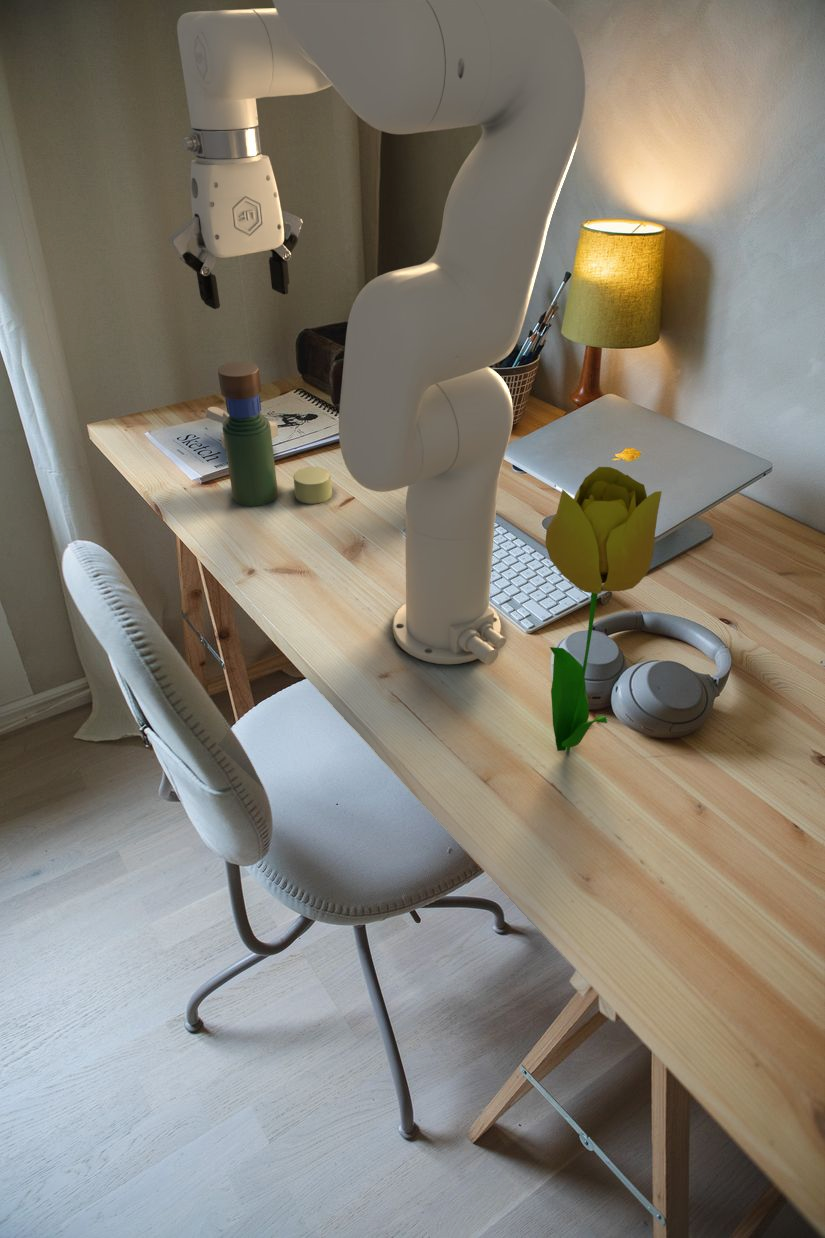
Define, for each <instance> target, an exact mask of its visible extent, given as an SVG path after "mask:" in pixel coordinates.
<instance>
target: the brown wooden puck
mask: <svg viewBox="0 0 825 1238" xmlns="http://www.w3.org/2000/svg"><path fill="white" fill-rule="evenodd" d="M217 375H218V382H219V388H220V394H221V395H222V397H224V398H225V397H226V398H229V399H236V400H240V399H248V398H252V397H255V396H257V395H258V394H259V395H260V394H261V393H262V384H261V376H260V367H259V366H258V365H257V364H256V363H254V362H251V361H232V362H228V363H225V364H222V365H221V366H219V368H218V369H217Z"/></svg>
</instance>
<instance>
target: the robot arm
mask: <svg viewBox="0 0 825 1238" xmlns="http://www.w3.org/2000/svg"><path fill="white" fill-rule="evenodd" d="M271 1H272V4H273V6H274V7H272V8H267V7H265V8H248V9H219V10H201V11H189V12H185V13H184V14H181V15H180V17H178V20H177V24H176V32H177V41H178V47H179V48H178V49H179V54H180V62H181V68H182V75H183V81H184V88H185V94H186V101H187V107H188V113H189V114H188V115H189V122H190V127H191V128H190V129H189V133H190V135H188V137H187V136H186V137H183V138H182V139H181V145H182V148H183V150H184V152H191V153H193V155H194V156H195V159H192V160H191V161H190V162H191V163H190V205H191V206H190V207H191V217H192V218H191V219H190V220H189V221H187V222H186V223H185V224H183V226H182V227H180V228H179V229H178V230H176V232H174V233H173V234H172V235H171V236H170V237H169V238H168V239H169V243H170V245H171V247H172V248H173V250H174V251H175V252H176V255H178V256H179V259H180V260H181V261H182V262H183V263H184V264H186V265H187V266H188V267H189V268H191V269H192V270H193V271H194V272H196V277H197V283H198V291H199V296H200V299H201V300H202V301H203V303H204V304H205V305H206V306H208V307H210V308H211V309H213V310H218V309H219V308H220V307H221V303H220V297H219V289H218V281H217V277H216V275H215V274H213V273H212V270H213V268H214V267H215V265H216V263H217V260H218V259H219V258H223V259H224V258H232V257H238V256H244V255H249V254H255V253H260V252H266V251H269V252H270V254H271V256H269V259H268V264H269V273H270V275H269V276H270V282H271V289H272V290H273V291H275V292H277V293H280V294H282V295H288V294H289V284H290V275H289V274H290V273H289V265H288V261H289V260H290V259H291V258H292V254H291V253H292V252H293V250H294V249H295V247H296V246H297V245H298V241H299V238H298V237H299V235H300V232H301V229H302V226H303V219H302V218H301V217H299V216H297V215H295V214H292V213H290V212H288V211H287V210H284V209H282V207H281V202H280V200H281V199H280V195H279V190H278V187H277V182H276V178H275V175H274V171H273V166H272V163H271V160H270V157H269V156H268V155H265V154H263V153H262V145H261V135H260V126H259V118H258V108H257V99H262V98H272V97H274V98H275V97H284V96H285V97H286V96H299V95H308V94H314V93H317V92H321V91H323V90H325V89H328V88H330V87H333V89H334V90H335V91H336V92H337V93H338V94H339V96H340V97H341V98H342V99H343V100H344V102H345V103H346V105H348V107H349V108H350V109H351V110H352V111H353V112H354V113H355V115H357V116H358V117H359V119H361V120H362V121H364V122H365V123H366V124H367V125H368V126H370V127H372V128H373V129H376V130H377V131H381V132H383V133H388V134H392V135H411V134H418V133H427V132H435V131H445V130H452V129H460V128H467V127H473V126H480V127H481V131H482V132H481V136H480V138H479V140H478V141H477V143H476V144H475V146H474V147H473V149H472V150H471V151H470V153H469V154H468V156H467V157H466V159H465V160H464V161H463V163H462V165H461V166H460V168H459V170H458V172H457V174H456V176H455V178H454V180H453V182H452V184H451V187H450V189H449V191H448V195H447V197H446V200H445V202H444V203H445V204H444V209H443V214H442V216H443V217H442V222H441V229H440V232H439V233H440V234H439V238H438V242H437V246H436V248H435V252H434V253H433V255H432V256H431V257H430V258H429V259H428V260H426V261H425V262H423V263H421V264H416V265H413V266H408V267H404V268H400V269H395V270H392V271H388V272H385V273H383V274H381V275H378V276H376V277H375V278H372V279H371V280H369V282H368V283H366V284H365V285H364V286H363V288H362V289H361V290H360V291H359V292H358V294H357V296H356V298H355V300H354V302H353V303H352V306H351V309H350V312H349V316H348V320H347V327H346V332H345V333H346V334H345V343H344V353H343V354H344V355H343V367H342V377H341V378H342V379H341V386H340V387H341V388H340V399H339V412H338V440H339V448H340V452H341V456H342V459H343V462H344V464H345V467H346V468H347V471H348V472H349V474H350V475H351V477H352V478H353V479H354V480H355V481H356V483H358V484H359V485H360V486H361V487H363V488H365V489H367V490H370V491H373V492H378V493H379V492H380V493H381V492H382V493H384V492H393V491H396V490H400V489H403V488H407V490H406V496H405V515H404V517H405V519H404V520H405V521H404V522H405V529H404V530H405V603H404V604H402V605H401V606H400V607H399V608H398V610H396V612H395V614H394V616H393V620H392V633H393V637H394V639H395V641H396V643H397V644H398V646H399V647H400V648H401V649H402V650H403V651H405V652H406V653H407V654H409V655H410V656H412V657H415V658H416V659H419V660H421V661H424V662H426V663H427V662H428V663H432V664H438V665H458V664H463V663H464V664H465V663H469V662H472V661H475V660H480V662H481V663H483V664H484V665H486V666H490V665H492V664H493V663H494V662H495V661H496V659H497V658H498V655H499V653H498V650H497V649H501V648H503V647H504V646H505V645H506V642H507V639H506V638H505V637H504V636H503V635H502V634H501V629H502V625H501V624H502V623H501V620H500V617H499V614H498V613H497V612H496V610H495V609H494V608H493V607H492V606H490V595H491V581H492V568H493V552H494V537H495V525H496V524H495V522H496V514H497V504H498V503H497V502H498V491H499V483H500V476H501V473H502V467H503V463H504V459H505V456H506V453H507V449H508V447H509V443H510V439H511V435H512V430H513V422H514V406H513V405H514V404H513V399H512V396H511V392H510V389H509V387H508V385H507V383H506V382H505V380H504V379H503V378H502V376H500V374H499V373H497V371H495V369H492V368H491V366H493V365H496V364H497V363H499V362H502V361H503V360H504V359H506V358H507V357H508V356H509V355H510V354H511V353H512V352H513V350H514V348H515V347H516V345H517V343H518V340H519V338H520V336H521V333H522V329H523V326H524V322H525V318H526V316H527V312H528V308H529V305H530V304H529V303H530V300H531V297H532V293H533V289H534V285H535V281H536V278H537V274H538V271H539V267H540V262H541V258H542V255H543V251H544V248H545V243H546V238H547V234H548V230H549V226H550V222H551V219H552V216H553V212H554V209H555V207H556V203H557V200H558V198H559V195H560V192H561V190H562V189H561V188H562V187H563V184H564V181H565V179H566V176H567V173H568V171H569V168H570V166H571V163H572V160H573V158H574V157H573V156H574V153H575V151H576V147H577V145H578V141H579V138H580V134H581V130H582V125H583V120H584V114H585V105H586V74H585V73H586V72H585V66H584V59H583V55H582V50H581V47H580V43H579V41H578V38H577V36H576V33H575V31H574V29H573V27H572V24H571V23H570V21H569V20H568V19H567V17H566V16H565V15H564V13H563V12H562V11H561V10H560V9H559V8H558V7H557V6H556V5H554V4H553V3H552V2H551V1H550V0H271ZM284 224H285V225H286V229H285V227H284ZM193 238H195V243H196V246H197V247H198V250H197V252H196V254H195V255H194V254H193V252H191V250H190V248H189V247H188V243H189V242H190V241H191V240H192V239H193ZM495 648H497V649H495Z"/></svg>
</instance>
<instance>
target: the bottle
mask: <svg viewBox="0 0 825 1238" xmlns="http://www.w3.org/2000/svg"><path fill="white" fill-rule="evenodd" d="M269 421H270V420H268V418H267V417H266V416H264V415H263V414H262V413H261V412H260V413H259V414H258V415H256V416H253V417H249V418H235V417H232V416H230V415H229V417H228V418H227V419H226V421H225V422H224V424H223V425H222V427H221V428H222V434H223V436H224V442H225V449H224V450H225V454H226V460H227V467H228V474H229V479H230V480H229V481H230V487H231V494H232V499H233V500H234V502H235V503H237V504H238V505H241V506H244V507H259V506H260V507H261V506H264V505H265V506H266V505H268V504H270V503H271V502H273V501H274V500H276V499H277V498H278V495H279V491H278V481H277V473H276V465H275V456H274V448H273V447H274V445H273V438H272V437H271V428H270V423H269Z"/></svg>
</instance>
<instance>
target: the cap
mask: <svg viewBox="0 0 825 1238" xmlns="http://www.w3.org/2000/svg"><path fill="white" fill-rule="evenodd" d="M224 399H225V405H226V406H225V407H226V411H227V413H228V414H229V415H230V416H232V417H235V418H249V417H253V416H256V415H258V414H259V413H261V412H262V405H261V396H260V394H258V395H257V396H255V397H252V398H248V399H240V400H236V399H229V398H226V397H224Z"/></svg>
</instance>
